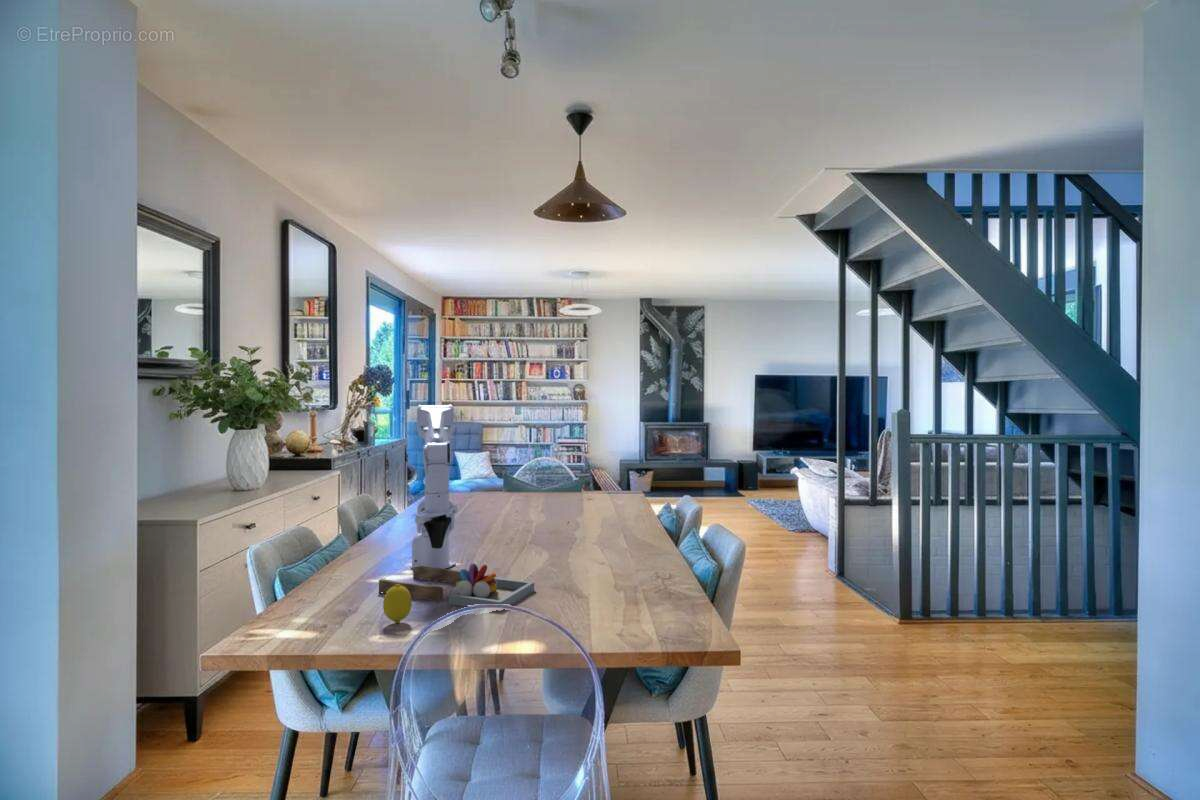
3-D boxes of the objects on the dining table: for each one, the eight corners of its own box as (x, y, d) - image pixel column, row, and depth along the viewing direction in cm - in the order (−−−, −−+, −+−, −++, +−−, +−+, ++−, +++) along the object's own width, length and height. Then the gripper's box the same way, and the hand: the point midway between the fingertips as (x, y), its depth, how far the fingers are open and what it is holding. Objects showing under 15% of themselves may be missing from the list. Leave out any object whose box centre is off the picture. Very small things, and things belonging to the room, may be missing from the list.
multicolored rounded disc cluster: (491, 601, 150) (491, 569, 149) (450, 599, 151) (450, 568, 150) (501, 590, 158) (501, 560, 158) (461, 588, 159) (461, 558, 159)
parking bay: (449, 604, 147) (449, 595, 147) (486, 584, 162) (486, 576, 162) (500, 611, 142) (500, 602, 142) (534, 590, 157) (534, 582, 157)
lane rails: (378, 592, 155) (378, 580, 155) (415, 577, 168) (415, 565, 168) (440, 601, 149) (440, 588, 149) (473, 584, 162) (473, 572, 162)
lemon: (386, 618, 137) (386, 580, 137) (413, 618, 138) (414, 580, 138) (380, 628, 132) (380, 588, 132) (408, 627, 132) (408, 587, 132)
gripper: (433, 497, 152) (433, 556, 152) (467, 488, 166) (467, 542, 166) (407, 495, 155) (407, 553, 155) (443, 486, 168) (443, 540, 168)
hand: (437, 547), depth 161 cm, fingers closed
